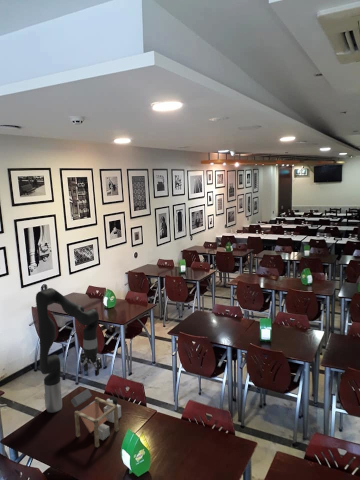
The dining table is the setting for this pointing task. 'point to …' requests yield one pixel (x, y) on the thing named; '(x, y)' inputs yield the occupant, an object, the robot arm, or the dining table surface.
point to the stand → (95, 421)
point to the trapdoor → (88, 409)
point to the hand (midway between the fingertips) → (91, 373)
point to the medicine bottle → (111, 416)
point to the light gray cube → (103, 431)
